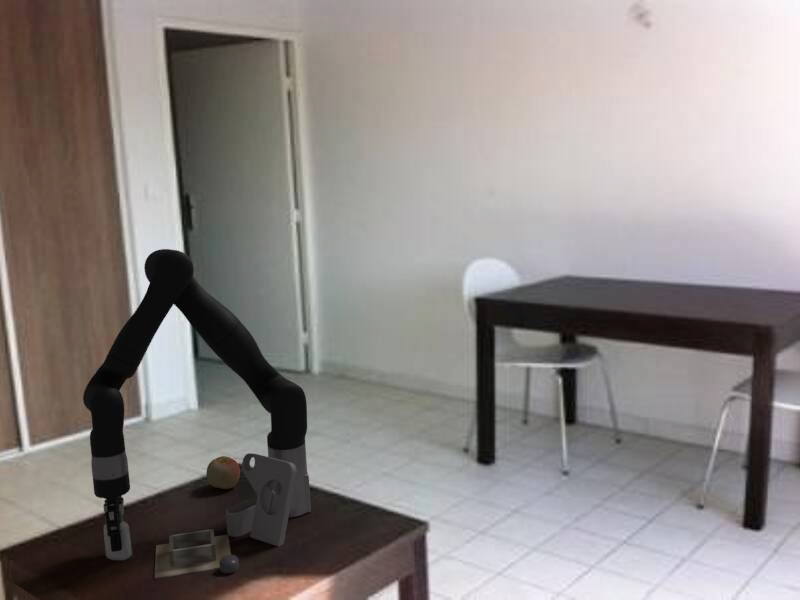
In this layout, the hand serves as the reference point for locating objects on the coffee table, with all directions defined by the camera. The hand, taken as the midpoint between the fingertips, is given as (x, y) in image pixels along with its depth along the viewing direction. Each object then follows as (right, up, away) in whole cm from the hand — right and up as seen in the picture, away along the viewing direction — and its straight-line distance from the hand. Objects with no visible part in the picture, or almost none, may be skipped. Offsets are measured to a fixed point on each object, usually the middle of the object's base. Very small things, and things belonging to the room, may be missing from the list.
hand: (117, 544), depth 185 cm
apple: (+15, +4, +39) cm, 42 cm away
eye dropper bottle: (0, -3, +1) cm, 3 cm away
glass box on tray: (+17, -3, -2) cm, 18 cm away
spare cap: (+27, -3, -9) cm, 28 cm away
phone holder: (+31, -1, +8) cm, 32 cm away
